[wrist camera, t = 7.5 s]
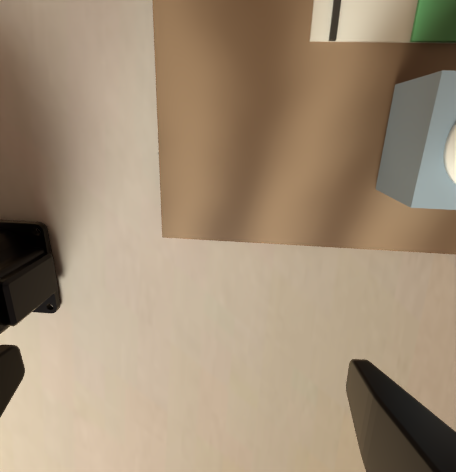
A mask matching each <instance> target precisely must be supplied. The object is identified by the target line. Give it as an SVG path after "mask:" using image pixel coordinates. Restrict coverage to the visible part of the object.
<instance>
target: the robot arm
mask: <svg viewBox="0 0 456 472" xmlns="http://www.w3.org/2000/svg"><path fill="white" fill-rule="evenodd" d="M36 228H38V229H39V230H40V233H39V232H37V230H36ZM50 304H51V305H53V307H52V306H51V305H50ZM59 308H60V300H59V294H58V285H57V279H56V273H55V267H54V261H53V257H52V253H51V247H50V241H49V235H48V230H47V227H46V226H45V225H44V224H43V223H40V222H28V221H10V220H0V334H1V333H2V332H3V331H5V330H6V329H7V328H8V327H10V326H15V325H17V324H18V323H19V322H20V321H21V320H23V319H24V318H25V317H26V316H27V315H29V314H30V313H31V312H41V313H54V312H56V311H57V310H58V309H59ZM24 373H25V368H24V364H23V360H22V356H21V353H20V349H19V348H18V347H17V346H15V345H0V417H1V415H2V414H3V412H4V410H5V408H6V407H7V405H8V403H9V402H10V400H11V398H12V396H13V395H14V393H15V391H16V389H17V388H18V386H19V384H20V383H21V381H22V379H23V377H24ZM346 391H347V397H348V401H349V405H350V410H351V414H352V418H353V423H354V427H355V431H356V436H357V440H358V444H359V448H360V452H361V456H362V460H363V463H364V466H365V469H366V472H456V432H455V431H454V430H453V429H451V428H450V427H449V426H448V425H447V424H445V423H444V422H443V421H442V420H440V419H439V418H438V417H437V416H436V415H434V414H433V413H432V412H431V411H429V410H428V409H427V408H426V407H425V406H423V405H422V404H421V403H420V402H418V401H417V400H416V399H415V398H414V397H412V396H411V395H410V394H409V393H407V392H406V391H405V390H404V389H403V388H401V387H400V386H399V385H398V384H396V383H395V382H394V381H393V380H391V379H390V378H389V377H388V376H387V375H385V374H384V373H383V372H382V371H380V370H379V369H378V368H377V367H376V366H374V365H373V364H372V363H371V362H369V361H368V360H361V359H352V360H351V361H350V363H349V369H348V376H347V382H346Z"/></svg>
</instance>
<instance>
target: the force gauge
mask: <svg viewBox="0 0 456 472" xmlns="http://www.w3.org/2000/svg"><path fill="white" fill-rule="evenodd" d="M376 190H378V191H380V192H382V193H384V194H385V195H387V196H389V197H391V198H393V199H395V200H397V201H399V202H401V203H403V204H405V205H406V206H408V207H410V208H426V209H447V210H456V71H447V70H442V71H439V72H435V73H432V74H429V75H426V76H422V77H419V78H416V79H412V80H409V81H406V82H402V83H399V84H396V85H395V88H394V93H393V99H392V104H391V109H390V115H389V120H388V125H387V131H386V136H385V141H384V147H383V152H382V157H381V162H380V168H379V173H378V178H377V184H376Z"/></svg>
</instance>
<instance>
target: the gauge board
mask: <svg viewBox="0 0 456 472" xmlns="http://www.w3.org/2000/svg"><path fill="white" fill-rule="evenodd" d="M153 22H154V46H155V70H156V95H157V119H158V143H159V167H160V191H161V215H162V237H166V238H183V239H200V240H218V241H235V242H252V243H269V244H287V245H304V246H321V247H339V248H356V249H373V250H391V251H408V252H425V253H442V254H456V210H447V209H426V208H410V207H408V206H406V205H405V204H403V203H401V202H399V201H397V200H395V199H393V198H391V197H389V196H387V195H385V194H384V193H382V192H380V191H378V190H376V184H377V178H378V173H379V168H380V162H381V157H382V152H383V147H384V141H385V136H386V131H387V125H388V120H389V115H390V109H391V104H392V99H393V93H394V88H395V85H396V84H399V83H402V82H406V81H409V80H412V79H416V78H419V77H422V76H426V75H429V74H432V73H435V72H439V71H442V70H447V71H456V0H153Z"/></svg>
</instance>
